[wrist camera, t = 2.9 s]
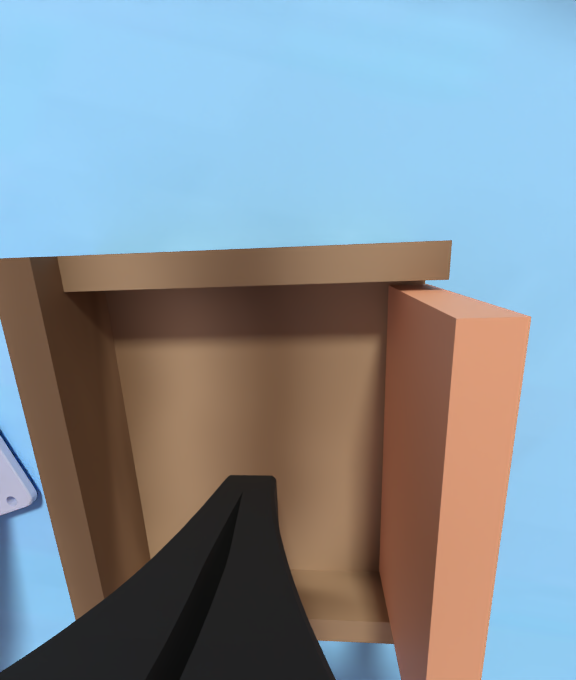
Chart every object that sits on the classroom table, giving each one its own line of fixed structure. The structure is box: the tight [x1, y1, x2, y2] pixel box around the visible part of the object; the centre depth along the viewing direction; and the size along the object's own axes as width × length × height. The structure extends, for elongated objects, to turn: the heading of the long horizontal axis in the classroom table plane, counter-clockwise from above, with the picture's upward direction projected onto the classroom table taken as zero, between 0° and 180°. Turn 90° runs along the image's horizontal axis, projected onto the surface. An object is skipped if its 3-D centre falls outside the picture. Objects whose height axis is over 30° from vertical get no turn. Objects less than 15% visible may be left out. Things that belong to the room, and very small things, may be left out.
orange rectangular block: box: [379, 284, 531, 680], centre depth 10 cm, size 1×11×6 cm, turn 2°
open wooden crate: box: [0, 240, 452, 644], centre depth 12 cm, size 12×14×4 cm
